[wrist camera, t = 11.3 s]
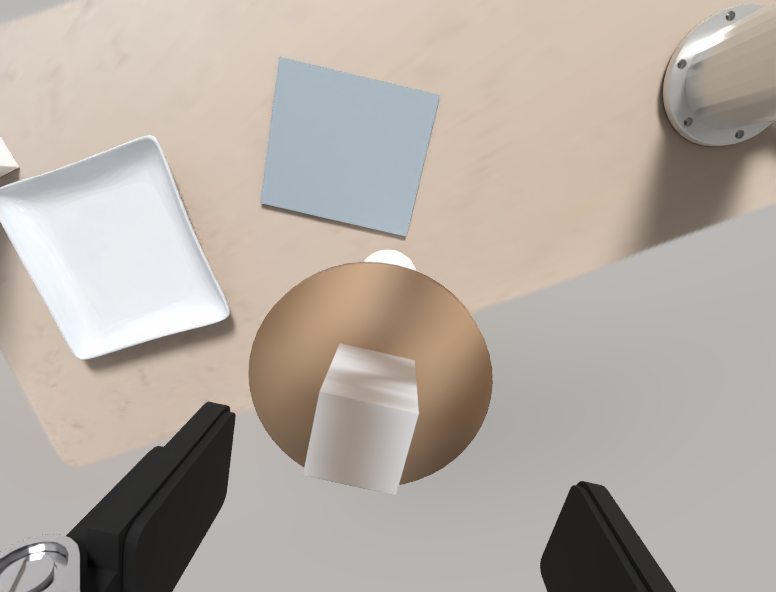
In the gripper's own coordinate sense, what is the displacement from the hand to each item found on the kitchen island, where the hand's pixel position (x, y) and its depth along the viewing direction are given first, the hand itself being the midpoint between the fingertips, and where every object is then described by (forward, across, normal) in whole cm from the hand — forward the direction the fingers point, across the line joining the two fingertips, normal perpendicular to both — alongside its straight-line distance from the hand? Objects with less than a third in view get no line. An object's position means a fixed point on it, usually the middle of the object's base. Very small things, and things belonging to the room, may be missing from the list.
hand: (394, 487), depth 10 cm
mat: (+36, +9, -10) cm, 38 cm away
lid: (+11, +1, +2) cm, 11 cm away
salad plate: (+36, +32, +6) cm, 49 cm away
